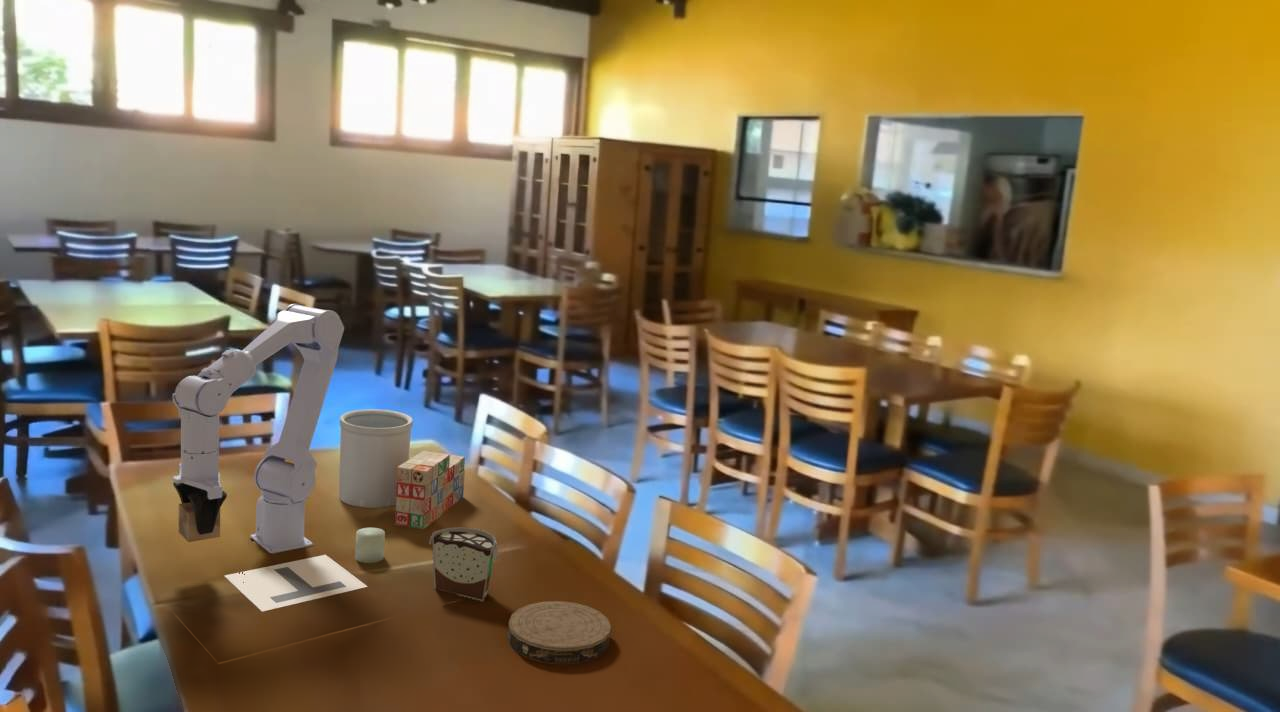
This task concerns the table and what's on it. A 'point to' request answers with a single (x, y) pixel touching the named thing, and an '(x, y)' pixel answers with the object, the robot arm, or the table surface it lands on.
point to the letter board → (294, 582)
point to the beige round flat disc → (559, 632)
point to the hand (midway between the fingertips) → (199, 527)
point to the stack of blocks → (427, 487)
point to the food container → (463, 561)
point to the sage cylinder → (369, 545)
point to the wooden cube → (194, 524)
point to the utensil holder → (372, 456)
